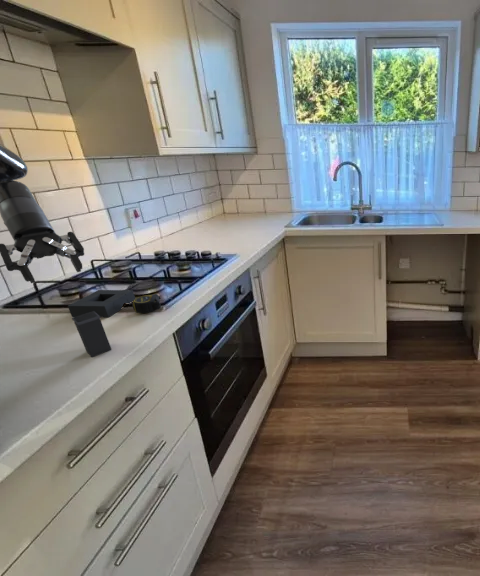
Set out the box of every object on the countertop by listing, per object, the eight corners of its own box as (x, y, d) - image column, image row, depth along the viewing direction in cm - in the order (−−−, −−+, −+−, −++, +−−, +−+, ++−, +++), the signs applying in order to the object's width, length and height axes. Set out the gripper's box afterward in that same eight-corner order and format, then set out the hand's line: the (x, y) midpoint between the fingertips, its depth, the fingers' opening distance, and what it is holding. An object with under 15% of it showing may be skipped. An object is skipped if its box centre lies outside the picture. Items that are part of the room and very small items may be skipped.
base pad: (108, 317, 101) (104, 306, 99) (71, 316, 102) (67, 305, 100) (136, 300, 111) (132, 290, 110) (102, 300, 112) (98, 289, 110)
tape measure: (162, 312, 103) (158, 300, 102) (134, 318, 100) (130, 305, 99) (162, 303, 109) (159, 291, 107) (135, 308, 106) (131, 297, 104)
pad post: (91, 357, 83) (76, 323, 79) (85, 351, 85) (71, 317, 81) (112, 349, 86) (99, 316, 82) (106, 343, 88) (93, 311, 84)
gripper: (-20, 217, 79) (12, 276, 77) (62, 206, 89) (92, 258, 87) (-12, 236, 84) (19, 293, 82) (65, 224, 94) (93, 274, 92)
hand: (56, 275), depth 85 cm, fingers open, 8 cm apart
